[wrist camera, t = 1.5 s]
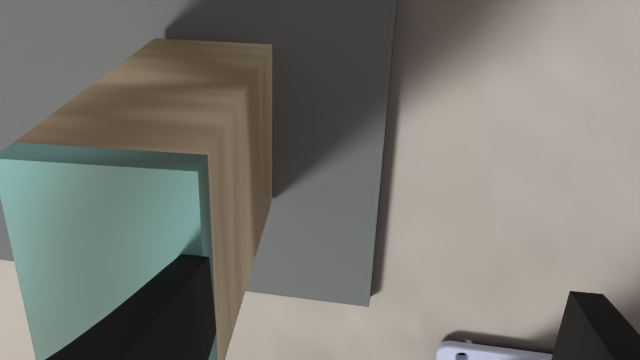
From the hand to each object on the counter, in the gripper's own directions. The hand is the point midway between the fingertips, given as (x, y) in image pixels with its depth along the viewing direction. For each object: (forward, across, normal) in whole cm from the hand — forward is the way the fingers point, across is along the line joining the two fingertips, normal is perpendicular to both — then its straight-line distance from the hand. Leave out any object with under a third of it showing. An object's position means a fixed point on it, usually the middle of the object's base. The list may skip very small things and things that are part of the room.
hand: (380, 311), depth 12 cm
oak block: (+10, +6, +1) cm, 12 cm away
